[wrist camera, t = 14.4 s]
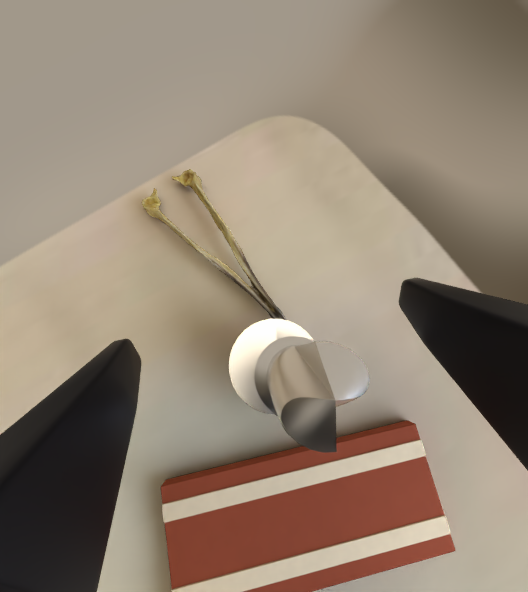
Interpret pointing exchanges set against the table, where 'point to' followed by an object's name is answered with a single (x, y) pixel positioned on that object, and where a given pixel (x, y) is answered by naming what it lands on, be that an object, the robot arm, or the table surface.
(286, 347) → the screw
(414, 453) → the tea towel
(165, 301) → the table surface
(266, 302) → the tongs
